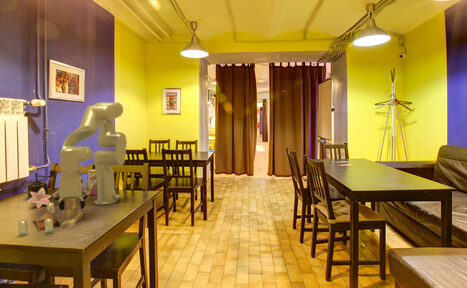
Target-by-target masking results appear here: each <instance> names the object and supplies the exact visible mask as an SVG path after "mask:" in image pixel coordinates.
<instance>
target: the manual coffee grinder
mask: <svg viewBox="0 0 467 288" xmlns="http://www.w3.org/2000/svg"><path fill="white" fill-rule="evenodd" d="M56 174H57V170H56V169H50V170H49V175H38V172H35V173H34V177H35V180H34V181H32V182H30V183H25V186H26V188H25V189H26V199H27V201H28V200H29V199H30V198H32V197H33V196H32V195H31V193H30V192H35V193H38V191H39V190H40V189H41V188H44V191H45V195H49V189H48V183H47V182H46V181H41V180H39V179H38V177H39V178H51V179H52V178H53V177H55V175H56Z"/></svg>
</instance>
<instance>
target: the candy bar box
mask: <svg viewBox="0 0 467 288" xmlns="http://www.w3.org/2000/svg"><path fill="white" fill-rule="evenodd" d="M86 174H87V190H89V191H91V193H90V194H89V196H91V195H92V196H97V179H96V169H89V170H87V171H86Z"/></svg>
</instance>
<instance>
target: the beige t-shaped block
mask: <svg viewBox="0 0 467 288" xmlns="http://www.w3.org/2000/svg"><path fill="white" fill-rule="evenodd" d="M65 199H66V212H67V213H66V214H67V218H66V220H64V221H63V222H62V223H61V228H62V229H63V228H65V229H66V228H72V227H74V225H76V223H77V222H78V221H79V220H80V219H81V218H82V217H83V216H84V211H79V206H78V205H79V204H78V197H71V198H65Z"/></svg>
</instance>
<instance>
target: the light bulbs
mask: <svg viewBox="0 0 467 288" xmlns="http://www.w3.org/2000/svg"><path fill="white" fill-rule="evenodd" d="M46 209H47V211H46V212H48V211H49V212H50V213H51V214H53V216H54V215H55V203H54V202H51V201H50V203H47V205H46ZM44 221H45V230H44V231H45V232H44V233H45V235H51V234H53V233H54V232H55V231H54V229H55V228H53V218H48V219H45V220H44ZM17 227H18V236H19V237H20V236H21V237H26V236H27V235H29V232H28V221H27V220H26V219H24V220H20V221H18V222H17Z"/></svg>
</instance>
